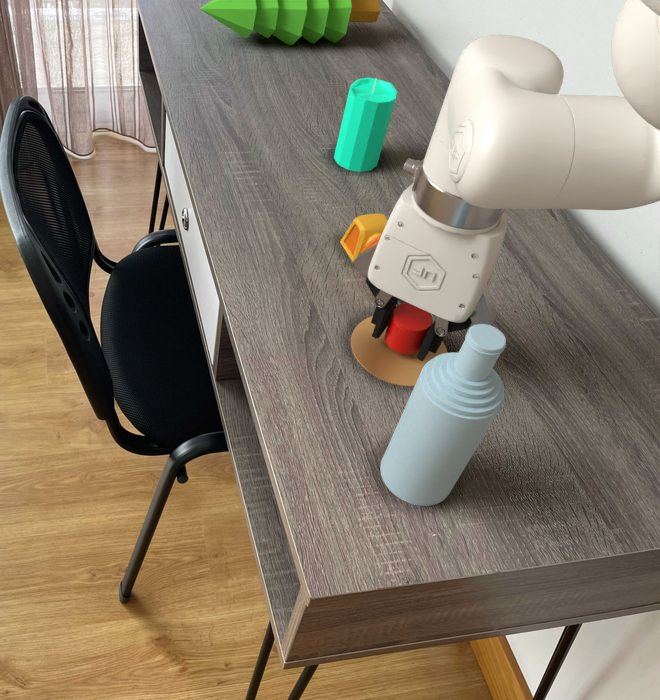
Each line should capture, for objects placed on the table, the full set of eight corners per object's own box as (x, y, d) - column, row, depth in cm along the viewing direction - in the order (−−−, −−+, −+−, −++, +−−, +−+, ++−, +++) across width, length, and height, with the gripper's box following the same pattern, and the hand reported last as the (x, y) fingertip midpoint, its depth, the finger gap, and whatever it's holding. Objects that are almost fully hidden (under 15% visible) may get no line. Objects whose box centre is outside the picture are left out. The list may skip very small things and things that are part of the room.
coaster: (460, 345, 77) (462, 341, 77) (424, 405, 72) (426, 401, 71) (374, 304, 81) (375, 300, 80) (333, 358, 75) (334, 354, 75)
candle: (357, 145, 102) (378, 62, 93) (386, 167, 99) (411, 83, 90) (324, 156, 100) (342, 72, 91) (352, 179, 97) (374, 94, 88)
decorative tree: (393, -33, 115) (208, -34, 107) (385, 46, 120) (208, 51, 112) (359, -31, 124) (188, -31, 117) (353, 43, 129) (189, 47, 122)
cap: (376, 339, 75) (385, 315, 73) (396, 320, 77) (405, 296, 75) (409, 360, 74) (419, 336, 71) (429, 340, 76) (439, 316, 73)
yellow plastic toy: (421, 306, 81) (376, 236, 89) (436, 269, 77) (388, 199, 85) (377, 313, 80) (335, 241, 88) (390, 275, 76) (345, 204, 83)
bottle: (460, 468, 67) (543, 328, 53) (436, 521, 63) (520, 385, 49) (394, 436, 69) (458, 293, 55) (368, 485, 65) (430, 344, 51)
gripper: (351, 176, 62) (312, 325, 76) (547, 257, 56) (468, 403, 70) (387, 138, 66) (344, 286, 80) (573, 210, 61) (493, 356, 74)
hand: (402, 339), depth 75 cm, fingers open, 4 cm apart
